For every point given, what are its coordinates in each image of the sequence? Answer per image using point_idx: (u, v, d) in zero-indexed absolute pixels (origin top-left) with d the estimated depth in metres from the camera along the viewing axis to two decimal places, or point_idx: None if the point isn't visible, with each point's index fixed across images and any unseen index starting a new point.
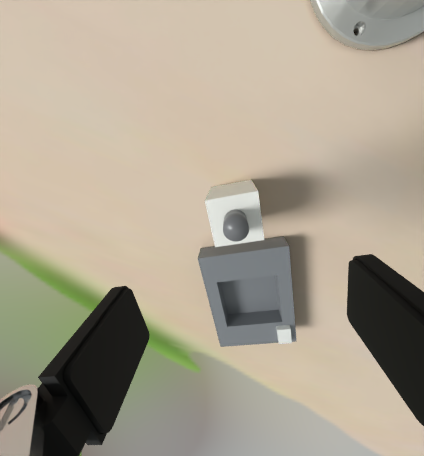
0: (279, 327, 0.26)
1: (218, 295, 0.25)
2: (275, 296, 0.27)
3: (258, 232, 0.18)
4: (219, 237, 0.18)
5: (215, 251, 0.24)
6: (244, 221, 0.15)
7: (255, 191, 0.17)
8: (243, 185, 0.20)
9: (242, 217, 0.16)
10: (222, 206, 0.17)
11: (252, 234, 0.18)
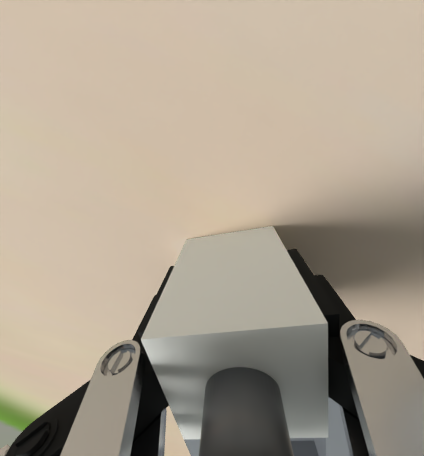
0: None
1: None
2: None
3: (313, 421, 0.06)
4: (194, 422, 0.06)
5: None
6: None
7: (315, 321, 0.05)
8: (260, 254, 0.08)
9: None
10: (199, 356, 0.05)
11: (293, 424, 0.06)
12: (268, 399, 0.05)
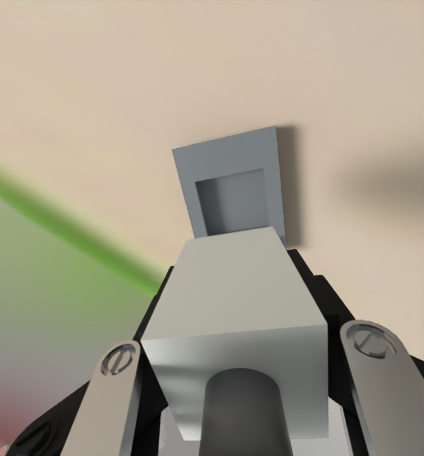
0: None
1: (197, 199, 0.22)
2: (263, 208, 0.24)
3: (313, 422, 0.06)
4: (195, 423, 0.06)
5: None
6: None
7: (315, 321, 0.05)
8: (260, 254, 0.08)
9: None
10: (198, 357, 0.05)
11: (293, 425, 0.06)
12: (268, 400, 0.05)
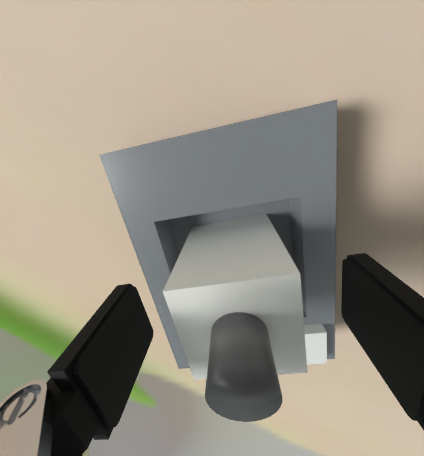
0: None
1: (161, 255, 0.11)
2: None
3: (294, 358, 0.07)
4: (203, 363, 0.08)
5: None
6: (269, 382, 0.05)
7: (292, 273, 0.06)
8: (254, 234, 0.09)
9: (261, 364, 0.05)
10: (206, 304, 0.07)
11: (280, 361, 0.08)
12: (258, 331, 0.06)
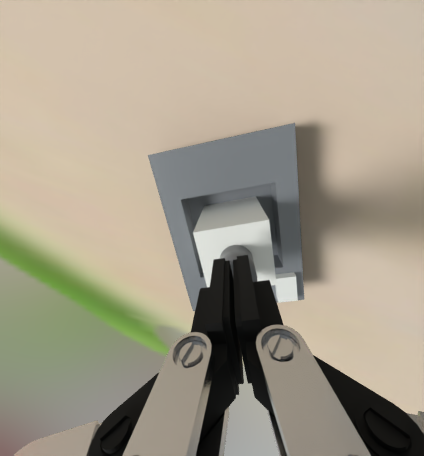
0: (278, 275, 0.17)
1: (184, 223, 0.16)
2: (272, 233, 0.18)
3: (268, 275, 0.13)
4: None
5: None
6: (250, 268, 0.10)
7: (265, 220, 0.12)
8: (246, 206, 0.15)
9: None
10: (217, 240, 0.12)
11: (260, 277, 0.13)
12: (246, 252, 0.12)
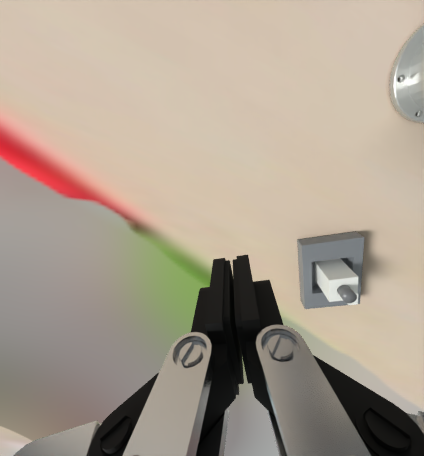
0: None
1: (310, 271, 0.37)
2: None
3: None
4: (332, 297, 0.34)
5: (311, 241, 0.36)
6: (355, 294, 0.31)
7: (356, 276, 0.33)
8: (341, 266, 0.36)
9: (353, 292, 0.32)
10: (337, 283, 0.33)
11: None
12: (349, 287, 0.33)
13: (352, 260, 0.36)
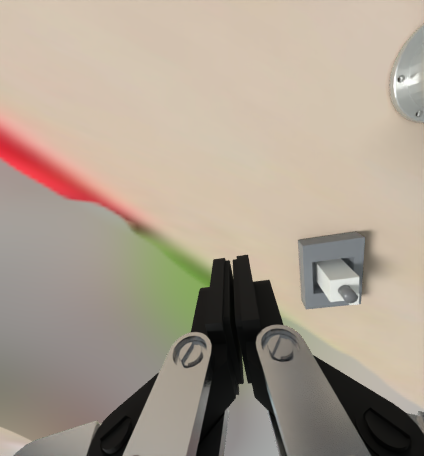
0: None
1: (311, 271, 0.37)
2: None
3: None
4: (333, 297, 0.34)
5: (311, 241, 0.36)
6: (356, 294, 0.31)
7: (357, 276, 0.33)
8: (341, 266, 0.36)
9: (354, 292, 0.32)
10: (338, 283, 0.33)
11: None
12: (350, 288, 0.33)
13: (353, 260, 0.36)
